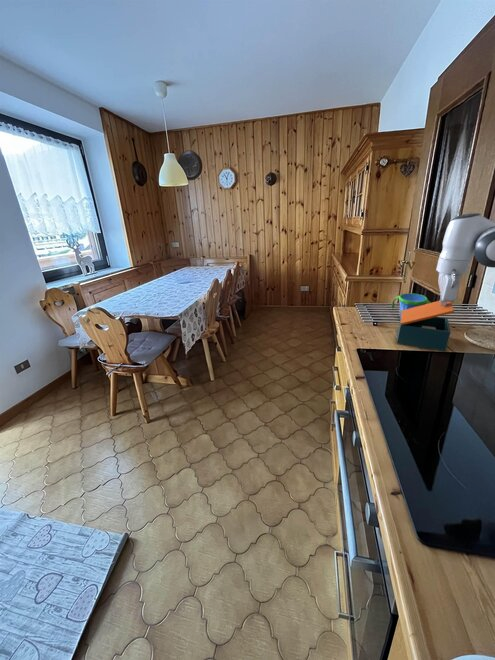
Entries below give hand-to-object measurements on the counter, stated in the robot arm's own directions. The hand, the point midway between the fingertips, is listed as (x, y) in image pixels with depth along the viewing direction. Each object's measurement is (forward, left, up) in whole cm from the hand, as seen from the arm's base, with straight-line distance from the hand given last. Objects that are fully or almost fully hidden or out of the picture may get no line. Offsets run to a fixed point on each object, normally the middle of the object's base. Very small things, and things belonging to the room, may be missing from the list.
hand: (442, 304), depth 100 cm
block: (+1, +2, -14) cm, 14 cm away
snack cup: (+20, -6, -15) cm, 26 cm away
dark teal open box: (+3, +3, -15) cm, 16 cm away
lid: (+3, +3, -4) cm, 6 cm away
